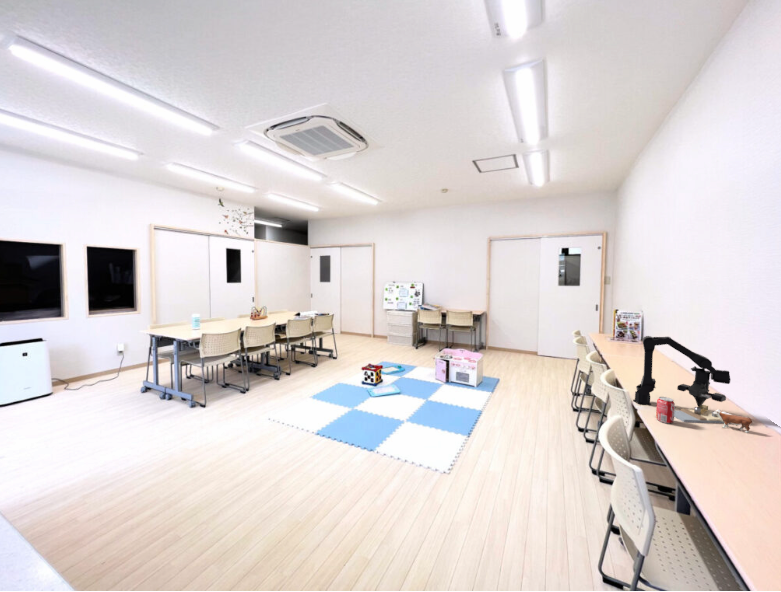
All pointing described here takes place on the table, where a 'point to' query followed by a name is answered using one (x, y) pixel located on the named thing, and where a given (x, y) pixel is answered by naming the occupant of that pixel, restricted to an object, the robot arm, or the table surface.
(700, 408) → the latch bar
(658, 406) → the soda can
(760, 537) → the table surface
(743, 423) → the bull figurine
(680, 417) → the door mockup
